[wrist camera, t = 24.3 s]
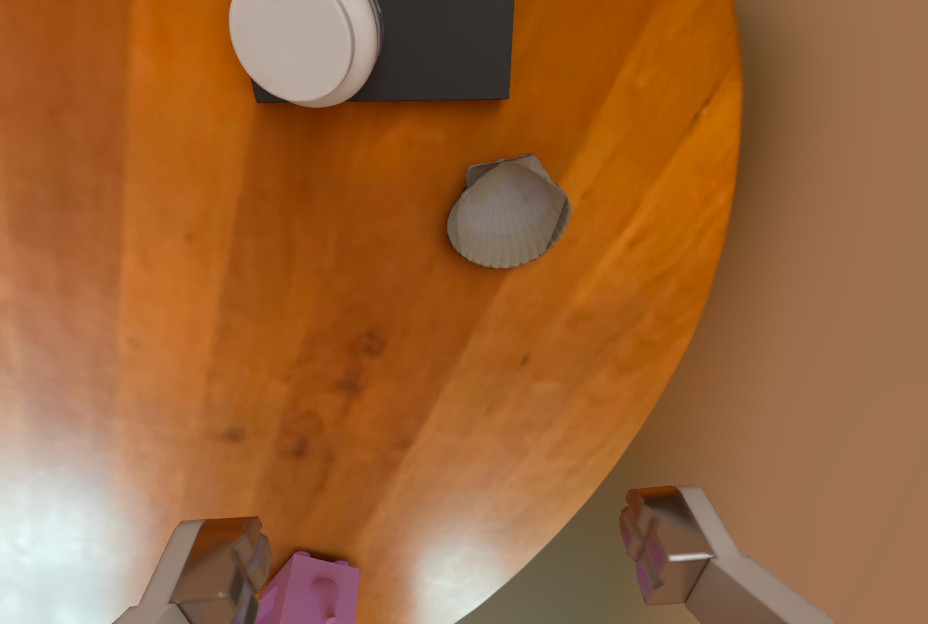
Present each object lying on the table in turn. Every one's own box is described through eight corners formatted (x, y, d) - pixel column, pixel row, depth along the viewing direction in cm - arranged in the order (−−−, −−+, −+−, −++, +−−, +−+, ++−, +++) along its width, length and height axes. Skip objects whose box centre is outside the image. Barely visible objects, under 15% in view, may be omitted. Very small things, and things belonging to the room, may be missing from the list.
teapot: (283, 514, 48) (257, 618, 40) (393, 543, 53) (390, 640, 45) (223, 593, 56) (191, 693, 47) (325, 612, 61) (312, 705, 53)
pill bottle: (285, 82, 25) (225, 122, 17) (266, -44, 22) (180, -70, 14) (387, 85, 25) (376, 125, 17) (381, -38, 22) (364, -59, 14)
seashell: (457, 249, 35) (565, 252, 34) (451, 275, 33) (566, 279, 31) (447, 143, 29) (576, 142, 28) (438, 166, 27) (579, 166, 26)
